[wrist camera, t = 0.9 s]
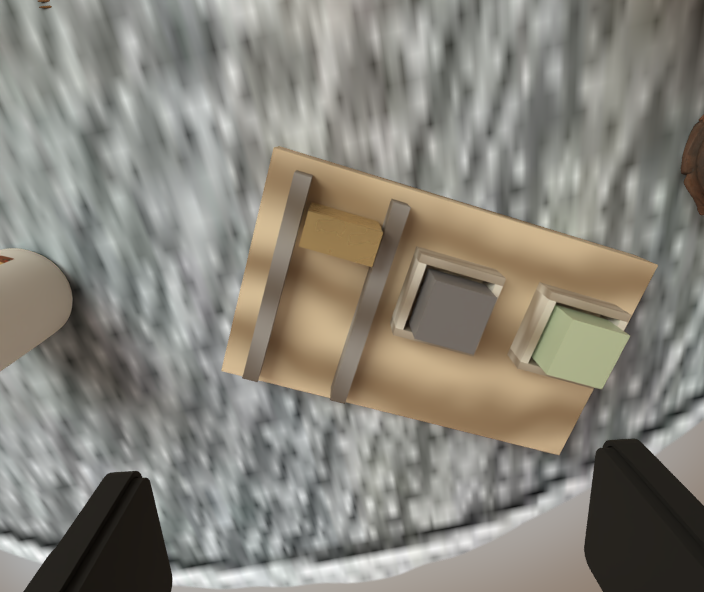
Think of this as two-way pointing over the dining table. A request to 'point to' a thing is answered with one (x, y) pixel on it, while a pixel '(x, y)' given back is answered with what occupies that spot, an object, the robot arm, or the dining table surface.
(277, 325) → the control panel
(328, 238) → the brass lever
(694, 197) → the brown curved piece
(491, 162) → the dining table surface
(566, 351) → the green button
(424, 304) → the charcoal button
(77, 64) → the dining table surface
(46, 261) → the milk bottle
